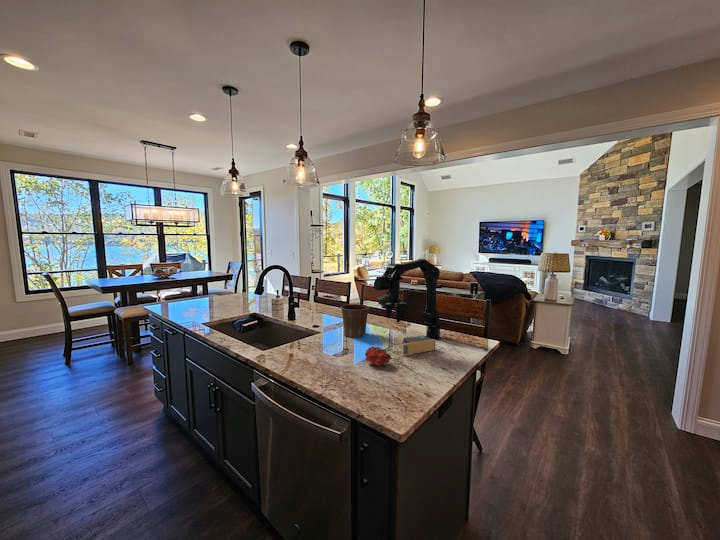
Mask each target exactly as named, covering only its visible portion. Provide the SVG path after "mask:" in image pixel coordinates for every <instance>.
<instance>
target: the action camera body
mask: <svg viewBox="0 0 720 540" xmlns="http://www.w3.org/2000/svg"><path fill="white" fill-rule="evenodd" d="M426 336H427V335H424V334H423V335H417V336H416V335H415V336H409V337H403V341H402V343H401V345H402V344H405V343H411V342H418V341H424V340H431V339H430V338H428V337H426Z"/></svg>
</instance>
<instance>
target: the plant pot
mask: <svg viewBox="0 0 720 540" xmlns="http://www.w3.org/2000/svg"><path fill="white" fill-rule="evenodd" d="M340 309H341V315H342V325H343V335H344V336H346V337H349V338H359V337H360V338H363V337H364V336H366V334H367V333H366V331H367V321H368V314H369V309H370V305H366V304H362V303H361V304H360V303H359V304H358V303H351V304H343V305H341V306H340Z"/></svg>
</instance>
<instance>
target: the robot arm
mask: <svg viewBox="0 0 720 540" xmlns="http://www.w3.org/2000/svg"><path fill="white" fill-rule="evenodd" d="M416 269H419V270H420V271H421V272H422V274H423V278H424V280H425V282H426V308H425V311H423V312H422V318H421V319H422V321H423V322H424V325H425V326H426V327H427V329H426V335H425V336H426V337H428V338H430V339H435V340H440V339H442V338H443V337H441V335H440V334H441V329H443V327H444V323H443V322H442V321H441V319H440V313H439V311H438V310H437V282H438V281H439V279H440V271H441V270H440V269H439V267H438V266H436V265H434V264H433V263H431V262H430V261H428V260H427V259H425V258H419V259H416V260H410V261H407V262H403V263H388V264H387V266H386V268H385V270H384V272H383V273H382V276H379V275H378V276H376V277H375V278H376V279H375V280H374V282H373V288H374V290H375V291H376V292H379V291H380V292H381V291H385V294H382V295H380V296H379V297H376V300H377V304H378V305H379V306H381V307H382V306H383V307H384V309H385V312H386V315H387V318H388V319H390V318H391V316H392V311H394V312H395V318H396V323H400V321H401V319H402V318H403V315H404V314H405V313H406V311H408V309H409V304H408V303H407V302H404V301H402V299H401V298H400V297H401V296H400V295H401V294H402V291H401V288H400V286H401V285H400V284H401V281H404V277H402V275H404V274H405V273H406V272H409V271H413V270H416Z"/></svg>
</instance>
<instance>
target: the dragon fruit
mask: <svg viewBox="0 0 720 540" xmlns="http://www.w3.org/2000/svg"><path fill="white" fill-rule="evenodd" d="M364 355H365V358H364V360H366V361H368V362H369V363H370V364H371V366H373V367H374V366H379V367H380V368H383V367H386V365H385V364H389V362H390V360H393V359H392V356H391V354H389V353H387V351H386V350H385V349H383V348H380V346H377V347H376V346H373V345H372V346H371V347H368V349H366V351H365V353H364Z"/></svg>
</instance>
